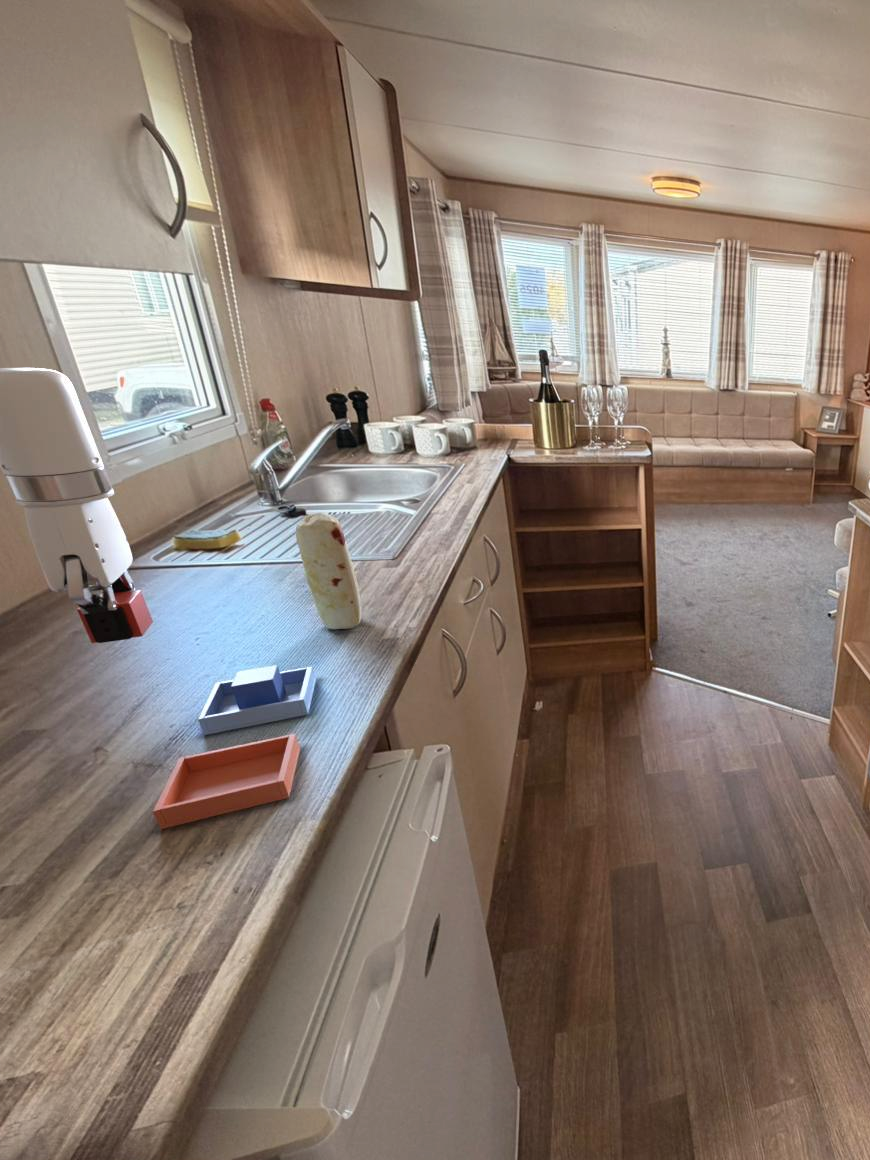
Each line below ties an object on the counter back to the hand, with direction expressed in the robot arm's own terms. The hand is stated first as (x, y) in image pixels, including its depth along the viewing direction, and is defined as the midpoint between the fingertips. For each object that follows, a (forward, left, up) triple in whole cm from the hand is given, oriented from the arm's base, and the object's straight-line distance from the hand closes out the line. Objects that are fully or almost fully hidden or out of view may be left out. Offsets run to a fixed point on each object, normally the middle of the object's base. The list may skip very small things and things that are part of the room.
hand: (122, 629), depth 78 cm
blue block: (+10, +1, -14) cm, 18 cm away
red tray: (+10, -18, -15) cm, 25 cm away
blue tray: (+10, +1, -15) cm, 18 cm away
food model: (+18, +27, -15) cm, 36 cm away
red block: (0, 0, 0) cm, 0 cm away
